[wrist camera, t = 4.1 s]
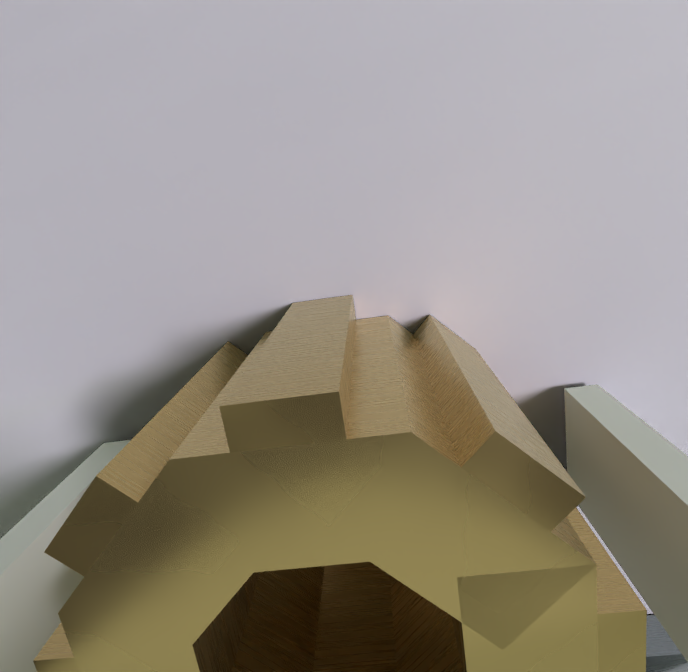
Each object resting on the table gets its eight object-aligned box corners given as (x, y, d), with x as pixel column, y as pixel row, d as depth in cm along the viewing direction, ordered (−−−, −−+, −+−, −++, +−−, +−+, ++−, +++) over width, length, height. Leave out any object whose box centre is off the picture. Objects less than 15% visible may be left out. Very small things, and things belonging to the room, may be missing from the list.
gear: (152, 322, 12) (-54, 439, 6) (501, 274, 11) (650, 353, 5) (224, 603, 14) (122, 893, 8) (521, 577, 13) (643, 870, 7)
